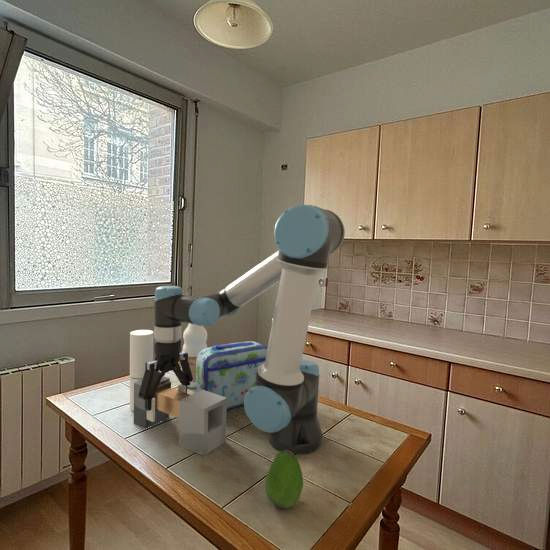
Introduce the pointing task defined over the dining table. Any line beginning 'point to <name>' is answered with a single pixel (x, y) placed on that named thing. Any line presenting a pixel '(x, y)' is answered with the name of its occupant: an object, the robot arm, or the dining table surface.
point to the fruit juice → (194, 347)
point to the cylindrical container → (139, 357)
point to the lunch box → (229, 370)
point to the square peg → (168, 399)
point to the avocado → (284, 480)
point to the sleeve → (202, 422)
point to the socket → (139, 408)
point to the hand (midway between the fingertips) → (166, 412)
